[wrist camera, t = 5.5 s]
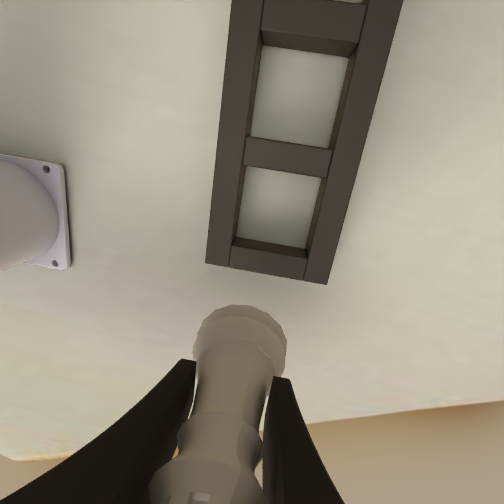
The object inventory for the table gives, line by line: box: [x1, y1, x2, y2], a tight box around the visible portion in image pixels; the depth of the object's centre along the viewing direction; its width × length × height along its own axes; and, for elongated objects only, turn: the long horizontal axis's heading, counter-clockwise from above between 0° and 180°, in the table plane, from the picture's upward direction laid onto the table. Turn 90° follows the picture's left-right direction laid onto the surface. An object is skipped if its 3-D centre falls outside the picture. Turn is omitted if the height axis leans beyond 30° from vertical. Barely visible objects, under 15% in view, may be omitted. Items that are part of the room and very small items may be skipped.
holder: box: [205, 0, 403, 285], centre depth 15 cm, size 8×21×2 cm, turn 171°
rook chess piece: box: [148, 305, 287, 504], centre depth 10 cm, size 4×4×8 cm
